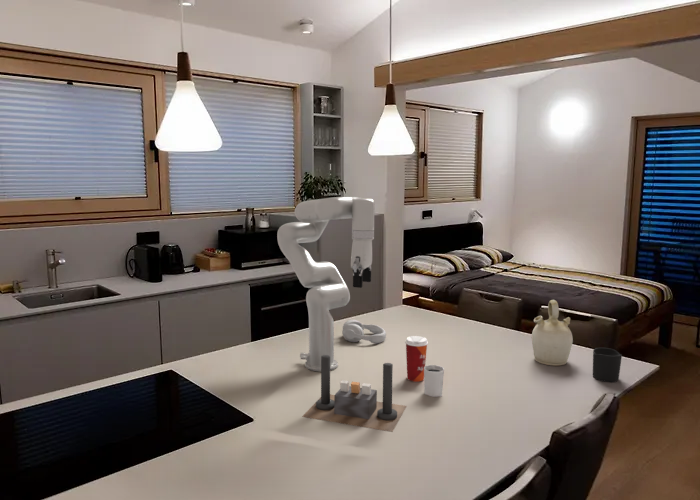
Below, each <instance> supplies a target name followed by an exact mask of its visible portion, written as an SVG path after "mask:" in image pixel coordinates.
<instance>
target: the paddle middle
mask: <svg viewBox="0 0 700 500" xmlns="http://www.w3.org/2000/svg"><path fill="white" fill-rule="evenodd" d="M360 384H361V383H360V382H358V381H351V383H350V386H351V392H352V393H358V394H359V392H360V388H361V385H360Z"/></svg>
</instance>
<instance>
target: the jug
mask: <svg viewBox="0 0 700 500" xmlns="http://www.w3.org/2000/svg"><path fill="white" fill-rule="evenodd" d="M547 306H548V307H547V312H548V319H545V320H544V319H543V318H544V317H543V316H542V315H538V316H536V317H534V319H533V322H534V323H535V326H534V328H533V330H532V331H531V332H532V333H531V344H532V350H533V352H532V354H533V356H534V358H533V359H534V360H535V361H536V362H537V363H539V364H542V365H546V366H555V367H556V366H557V367H558V366H564V365H566V364H567V363H568V359H569V356H570V353H571V352H572V351H571V350H572V347H573V346H572V345H573V343H574V340H573V333H572V331H571V329H570V327H568V326H569V325H570V324H571V323H570V322H571V317H569V316H568V317H566V318H563V320H562V321H560V320H559V319H558V318H559V315H560V313H559V311H560V309H559V303H558V301H557V300H555V299H551V300H549V302H548V305H547Z"/></svg>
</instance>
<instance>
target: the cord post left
mask: <svg viewBox="0 0 700 500" xmlns="http://www.w3.org/2000/svg"><path fill="white" fill-rule="evenodd" d="M330 394H331V370H330V356H329V355H323V356H321V371H320V397H321V399H320V400H319V399H317V400H316V402H315V403H316V408H317V409H319V410H332V409H334V400H332V399H330Z"/></svg>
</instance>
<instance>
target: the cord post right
mask: <svg viewBox="0 0 700 500" xmlns="http://www.w3.org/2000/svg"><path fill="white" fill-rule="evenodd" d="M393 372H394V371H393V363H391V362H384V363H383V364H382V402H383V408H382V409H379V410H378V411H377V417H378V418H379V419H381V420H385V421H390V420H394V419H396V418H397V411H396V410H394V409H392V404H393Z"/></svg>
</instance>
